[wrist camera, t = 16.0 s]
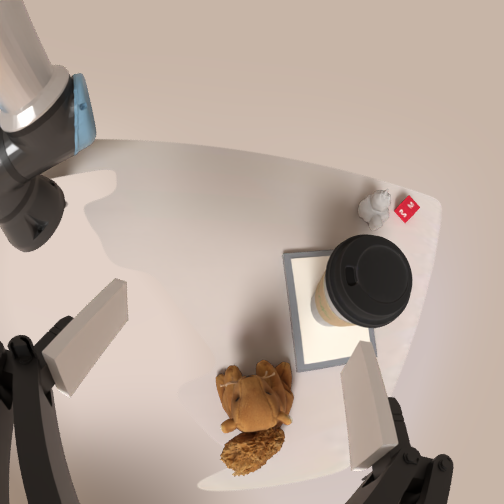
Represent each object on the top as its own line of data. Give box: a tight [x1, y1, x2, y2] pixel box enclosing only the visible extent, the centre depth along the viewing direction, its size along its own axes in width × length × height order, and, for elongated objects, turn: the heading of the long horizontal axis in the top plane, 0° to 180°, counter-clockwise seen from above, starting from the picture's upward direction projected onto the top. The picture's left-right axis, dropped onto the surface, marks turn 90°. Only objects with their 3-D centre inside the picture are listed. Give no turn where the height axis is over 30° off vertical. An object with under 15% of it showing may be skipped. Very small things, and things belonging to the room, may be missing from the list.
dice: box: [394, 196, 420, 223], centre depth 44 cm, size 3×3×3 cm
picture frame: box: [282, 250, 377, 372], centre depth 38 cm, size 17×12×1 cm
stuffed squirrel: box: [216, 360, 294, 476], centre depth 27 cm, size 10×14×13 cm
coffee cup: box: [310, 235, 412, 328], centre depth 31 cm, size 9×9×15 cm
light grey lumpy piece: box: [358, 189, 391, 231], centre depth 41 cm, size 5×7×8 cm
